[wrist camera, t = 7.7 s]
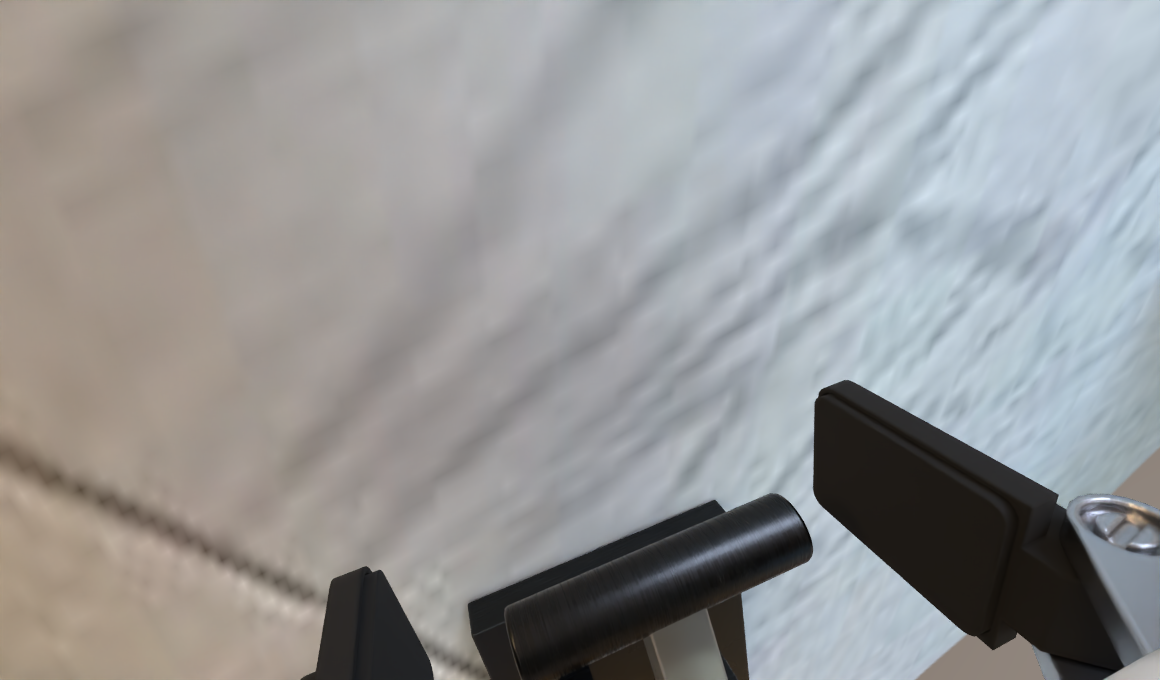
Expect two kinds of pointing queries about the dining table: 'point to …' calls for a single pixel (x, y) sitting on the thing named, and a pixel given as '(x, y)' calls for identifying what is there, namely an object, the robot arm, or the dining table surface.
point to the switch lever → (659, 596)
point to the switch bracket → (629, 669)
